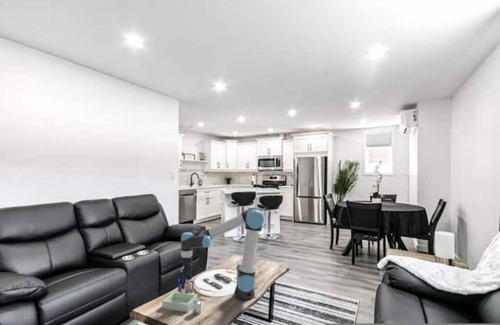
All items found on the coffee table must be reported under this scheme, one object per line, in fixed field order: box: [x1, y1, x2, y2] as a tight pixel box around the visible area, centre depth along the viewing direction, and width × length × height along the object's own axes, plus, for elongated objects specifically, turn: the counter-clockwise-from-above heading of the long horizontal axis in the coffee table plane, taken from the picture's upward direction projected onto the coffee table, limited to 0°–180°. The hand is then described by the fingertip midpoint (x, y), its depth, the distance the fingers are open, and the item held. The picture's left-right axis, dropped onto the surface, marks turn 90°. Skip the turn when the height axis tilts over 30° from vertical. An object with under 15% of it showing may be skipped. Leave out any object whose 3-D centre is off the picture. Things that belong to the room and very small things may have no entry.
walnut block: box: [180, 282, 192, 294], centre depth 175 cm, size 5×5×5 cm
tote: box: [162, 291, 198, 313], centre depth 176 cm, size 18×14×5 cm
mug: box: [177, 277, 194, 293], centre depth 194 cm, size 8×12×10 cm
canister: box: [192, 299, 202, 316], centre depth 166 cm, size 5×5×7 cm
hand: (185, 291), depth 175 cm, fingers closed on walnut block, 5 cm apart
